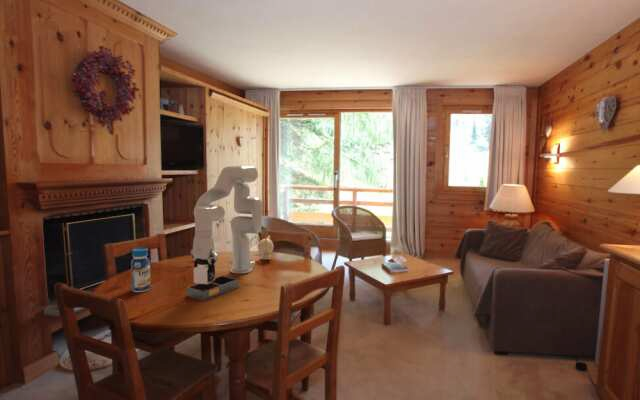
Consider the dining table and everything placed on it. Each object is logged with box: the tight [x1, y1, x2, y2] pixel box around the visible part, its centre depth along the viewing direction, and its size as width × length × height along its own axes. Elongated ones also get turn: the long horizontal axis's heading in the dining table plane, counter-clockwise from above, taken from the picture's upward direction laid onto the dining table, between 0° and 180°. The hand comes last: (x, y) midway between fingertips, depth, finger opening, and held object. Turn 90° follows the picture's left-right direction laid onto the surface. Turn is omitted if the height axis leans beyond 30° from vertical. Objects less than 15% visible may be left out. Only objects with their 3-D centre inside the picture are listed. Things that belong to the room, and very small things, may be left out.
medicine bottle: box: [193, 258, 216, 284], centre depth 170 cm, size 7×7×12 cm
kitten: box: [257, 235, 275, 261], centre depth 236 cm, size 15×10×15 cm
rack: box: [186, 275, 239, 302], centre depth 175 cm, size 22×12×4 cm, turn 149°
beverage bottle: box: [130, 247, 152, 293], centre depth 176 cm, size 8×8×20 cm
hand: (204, 270), depth 170 cm, fingers closed on medicine bottle, 8 cm apart
